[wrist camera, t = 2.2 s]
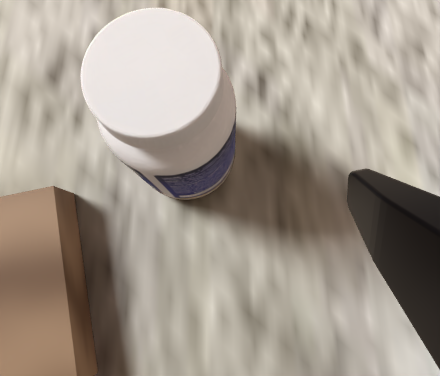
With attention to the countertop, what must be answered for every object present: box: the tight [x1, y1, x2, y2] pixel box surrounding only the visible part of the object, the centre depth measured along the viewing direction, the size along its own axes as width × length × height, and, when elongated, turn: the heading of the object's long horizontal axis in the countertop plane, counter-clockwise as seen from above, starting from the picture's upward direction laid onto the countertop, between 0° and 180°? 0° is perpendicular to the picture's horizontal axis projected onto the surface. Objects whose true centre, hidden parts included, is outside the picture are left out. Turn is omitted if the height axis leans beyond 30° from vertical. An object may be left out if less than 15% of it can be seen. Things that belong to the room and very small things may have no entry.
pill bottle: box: [81, 8, 236, 200], centre depth 16 cm, size 6×6×10 cm
